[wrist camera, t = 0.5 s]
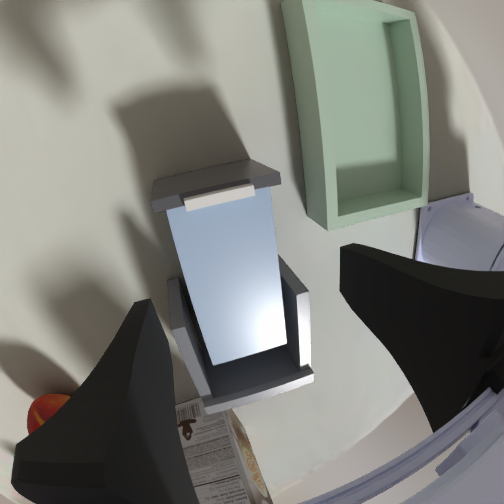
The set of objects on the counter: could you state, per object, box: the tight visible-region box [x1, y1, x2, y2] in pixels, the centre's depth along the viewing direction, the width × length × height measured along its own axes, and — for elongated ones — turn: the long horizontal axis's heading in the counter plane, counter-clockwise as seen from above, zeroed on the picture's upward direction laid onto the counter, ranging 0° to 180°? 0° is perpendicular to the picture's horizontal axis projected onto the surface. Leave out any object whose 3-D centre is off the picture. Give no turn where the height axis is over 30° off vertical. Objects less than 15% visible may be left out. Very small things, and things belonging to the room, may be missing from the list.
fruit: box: [27, 394, 71, 435], centre depth 19 cm, size 8×8×8 cm
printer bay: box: [167, 254, 314, 415], centre depth 20 cm, size 8×8×6 cm
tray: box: [280, 0, 430, 231], centre depth 17 cm, size 10×16×3 cm, turn 8°
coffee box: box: [175, 397, 273, 504], centre depth 21 cm, size 9×6×16 cm
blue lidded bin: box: [150, 159, 287, 365], centre depth 18 cm, size 6×11×6 cm, turn 8°
